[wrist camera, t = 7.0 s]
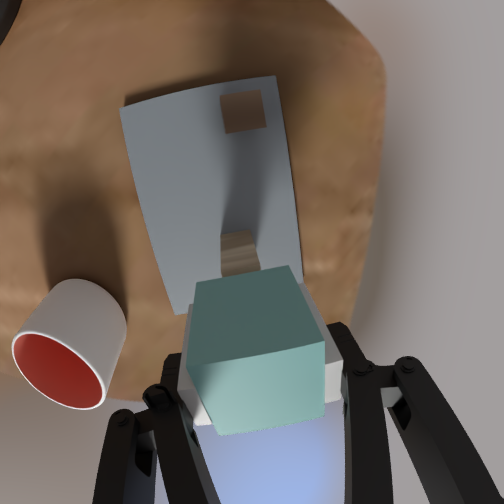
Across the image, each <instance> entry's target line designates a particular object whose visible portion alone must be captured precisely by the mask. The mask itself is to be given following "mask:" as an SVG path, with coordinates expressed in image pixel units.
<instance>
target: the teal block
mask: <svg viewBox="0 0 504 504" xmlns="http://www.w3.org/2000/svg"><path fill="white" fill-rule="evenodd" d="M186 369H187V371H188V373H189V375H190V378H191V380H192V382H193V384H194V386H195V388H196V390H197V392H198V394H199V396H200V398H201V400H202V403H203V405H204V407H205V409H206V411H207V413H208V415H209V417H210V419H211V421H212V423H213V425H214V427H215V429H216V431H217V433H218V435H219V436H221V435H229V434H237V433H245V432H251V431H258V430H264V429H269V428H275V427H280V426H285V425H289V424H294V423H299V422H303V421H308V420H312V419H316V418H320V417H324V409H325V402H324V388H325V340H324V338H323V336H322V334H321V332H320V330H319V328H318V325H317V323H316V321H315V319H314V317H313V315H312V313H311V311H310V308H309V306H308V304H307V302H306V300H305V298H304V296H303V294H302V292H301V290H300V287H299V285H298V283H297V281H296V279H295V277H294V275H293V273H292V271H291V269H290V267H289V265H285V266H280V267H275V268H270V269H265V270H260V271H254V272H249V273H244V274H239V275H233V276H228V277H223V278H217V279H212V280H206V281H201V282H196V288H195V295H194V303H193V310H192V317H191V325H190V333H189V341H188V350H187V358H186Z"/></svg>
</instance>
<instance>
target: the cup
mask: <svg viewBox="0 0 504 504" xmlns="http://www.w3.org/2000/svg"><path fill="white" fill-rule="evenodd" d="M126 332H127V326H126V320H125V317H124V314H123V311H122V309H121V307H120V306H119V304H118V303H117V301H116V300H115V299H114V298H113V297H112V296H111V295H110V294H109V293H108V292H107V291H106V290H105V289H103V288H102V287H100V286H99V285H97V284H95V283H93V282H90V281H87V280H83V279H68V280H64V281H62V282H60V283H58V284H57V285H56V286H54V287H53V288H52V290H51V291H50V292H49V293H48V294H47V296H46V297H45V298H44V299H43V300H42V302H41V303H40V304H39V305H38V307H37V308H36V309H35V310H34V312H33V313H32V314H31V315H30V317H29V318H28V319H27V320H26V322H25V323H24V324H23V326H22V327H21V328H20V330H19V331H18V332H17V334H16V335H15V337H14V338H13V341H12V354H13V358H14V360H15V363H16V365H17V367H18V368H19V370H20V372H21V373H22V375H23V376H24V377H25V378H26V380H27V381H28V382H29V383H30V384H31V385H32V386H33V387H34V388H35V389H37V390H38V391H39V392H40V393H42V394H43V395H45V396H46V397H48V398H49V399H51V400H53V401H55V402H57V403H59V404H62V405H64V406H67V407H70V408H74V409H92V408H95V407H97V406H99V405H100V404H102V402H103V401H104V400H105V397H106V394H107V391H108V388H109V384H110V381H111V378H112V375H113V372H114V369H115V366H116V363H117V361H118V358H119V355H120V352H121V349H122V346H123V344H124V341H125V338H126Z"/></svg>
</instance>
